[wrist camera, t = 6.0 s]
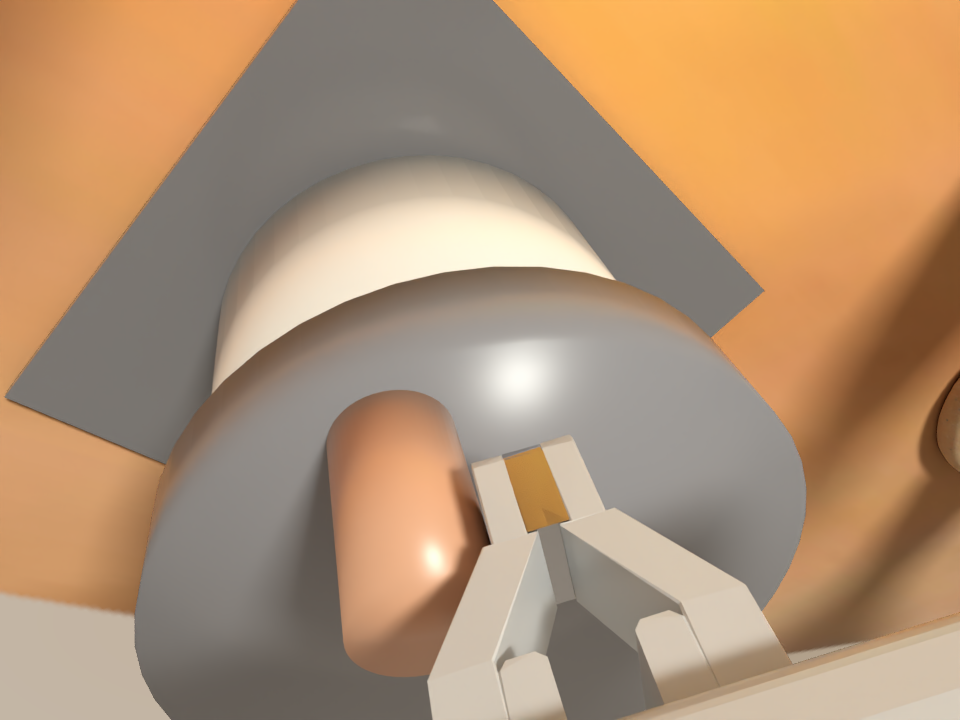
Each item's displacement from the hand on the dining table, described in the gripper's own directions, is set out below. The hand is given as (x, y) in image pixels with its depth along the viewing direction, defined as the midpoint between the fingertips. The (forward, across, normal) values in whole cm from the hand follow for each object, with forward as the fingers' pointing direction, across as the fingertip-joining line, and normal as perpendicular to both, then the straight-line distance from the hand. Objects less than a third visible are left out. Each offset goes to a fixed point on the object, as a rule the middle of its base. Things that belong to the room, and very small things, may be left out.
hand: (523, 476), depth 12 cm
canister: (+15, +2, +7) cm, 16 cm away
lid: (+5, +1, +7) cm, 9 cm away
